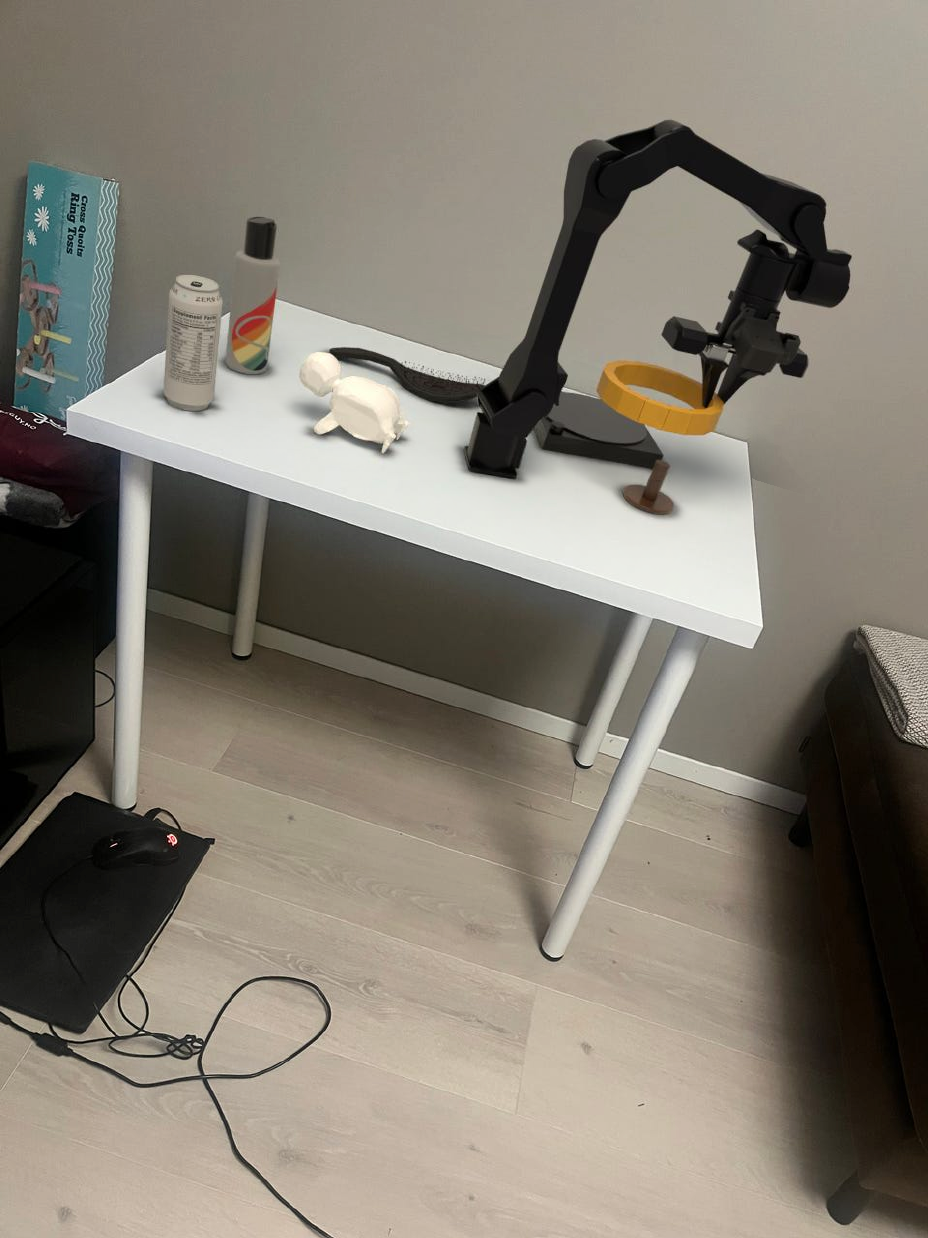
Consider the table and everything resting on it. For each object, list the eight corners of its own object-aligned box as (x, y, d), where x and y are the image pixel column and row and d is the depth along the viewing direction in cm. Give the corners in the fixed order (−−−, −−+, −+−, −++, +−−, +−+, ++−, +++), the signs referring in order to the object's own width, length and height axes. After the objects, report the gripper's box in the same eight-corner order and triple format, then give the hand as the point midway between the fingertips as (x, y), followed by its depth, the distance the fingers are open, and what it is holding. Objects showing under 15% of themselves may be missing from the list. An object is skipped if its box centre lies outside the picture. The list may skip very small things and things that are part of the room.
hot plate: (542, 449, 129) (549, 427, 127) (521, 398, 144) (527, 378, 142) (658, 469, 134) (666, 448, 132) (626, 418, 148) (633, 398, 146)
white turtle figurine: (389, 452, 123) (302, 380, 122) (423, 405, 119) (332, 330, 117) (366, 474, 116) (273, 398, 115) (401, 426, 112) (304, 346, 110)
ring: (613, 421, 114) (621, 398, 112) (585, 372, 127) (592, 351, 125) (731, 444, 117) (741, 423, 116) (692, 394, 130) (700, 374, 129)
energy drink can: (217, 398, 117) (228, 281, 109) (207, 416, 112) (218, 295, 104) (169, 387, 116) (177, 269, 108) (157, 406, 111) (164, 283, 103)
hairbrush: (343, 329, 141) (494, 375, 137) (340, 352, 143) (489, 398, 139) (320, 342, 134) (478, 390, 130) (317, 366, 136) (473, 414, 132)
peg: (630, 510, 120) (646, 471, 117) (617, 484, 126) (631, 446, 122) (678, 518, 122) (695, 479, 118) (663, 492, 127) (679, 455, 124)
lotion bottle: (262, 378, 125) (280, 228, 114) (220, 368, 125) (235, 216, 114) (270, 364, 130) (288, 218, 119) (230, 354, 129) (244, 207, 118)
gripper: (712, 296, 106) (663, 420, 114) (851, 329, 110) (794, 446, 119) (683, 269, 115) (640, 386, 123) (813, 301, 119) (763, 411, 128)
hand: (710, 408), depth 123 cm, fingers closed on ring
